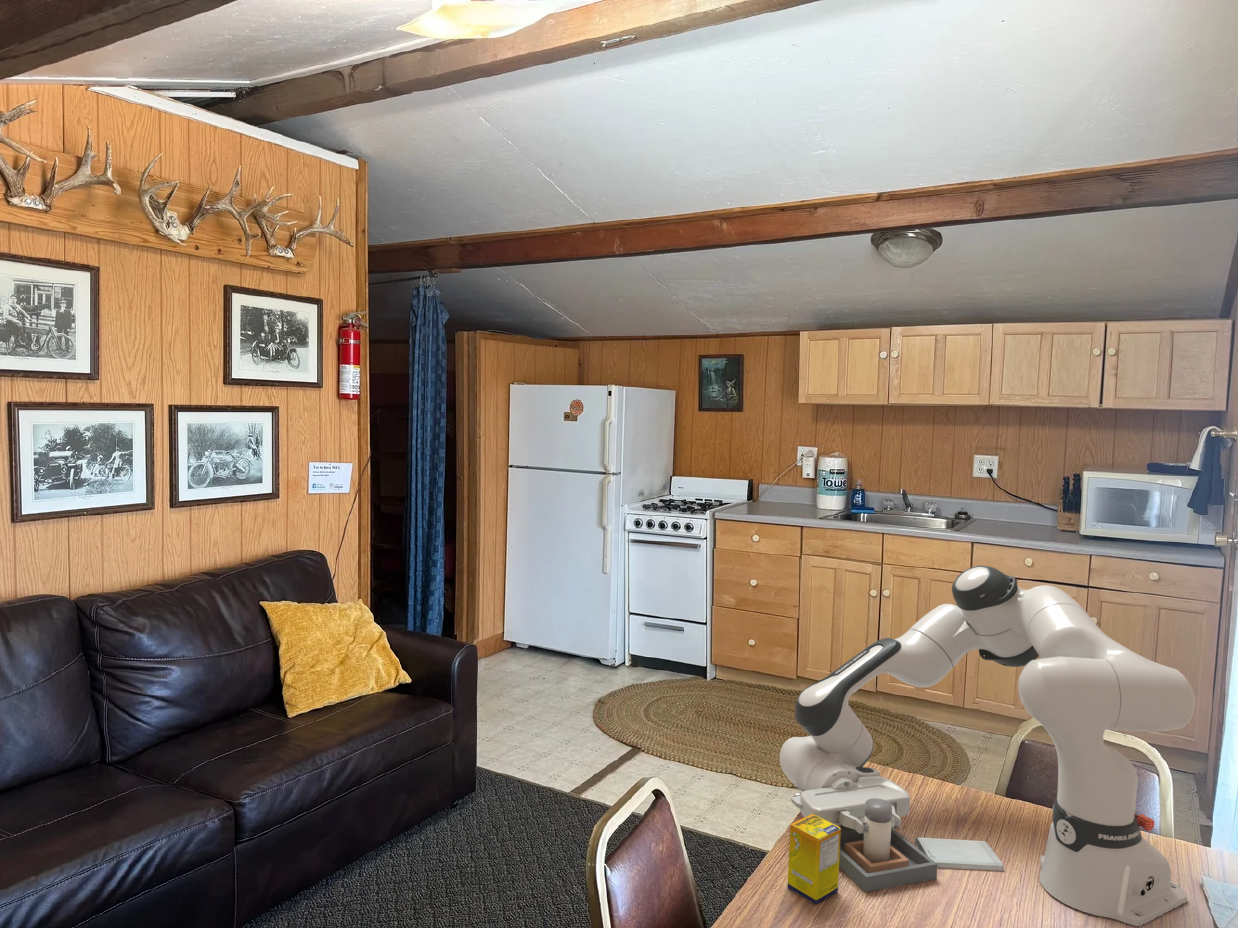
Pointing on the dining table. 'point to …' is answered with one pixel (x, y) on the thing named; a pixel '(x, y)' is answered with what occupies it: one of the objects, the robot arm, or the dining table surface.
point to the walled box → (884, 863)
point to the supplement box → (814, 858)
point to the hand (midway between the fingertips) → (881, 826)
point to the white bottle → (877, 830)
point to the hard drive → (960, 854)
